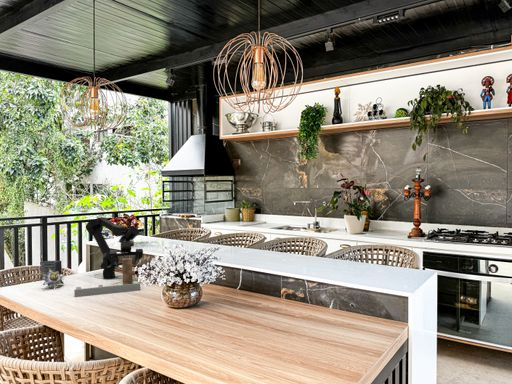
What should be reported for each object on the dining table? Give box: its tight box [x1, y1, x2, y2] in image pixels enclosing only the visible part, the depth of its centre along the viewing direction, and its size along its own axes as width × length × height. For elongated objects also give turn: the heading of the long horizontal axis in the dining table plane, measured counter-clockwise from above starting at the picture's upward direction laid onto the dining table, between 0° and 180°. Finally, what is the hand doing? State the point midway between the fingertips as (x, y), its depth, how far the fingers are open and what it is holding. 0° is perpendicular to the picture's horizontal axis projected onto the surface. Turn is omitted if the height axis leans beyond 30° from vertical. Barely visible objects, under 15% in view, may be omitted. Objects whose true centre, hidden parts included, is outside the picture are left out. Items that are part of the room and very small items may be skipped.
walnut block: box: [121, 257, 134, 285], centre depth 214 cm, size 5×5×14 cm
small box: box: [39, 260, 63, 280], centre depth 245 cm, size 11×6×10 cm, turn 84°
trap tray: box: [73, 280, 141, 298], centre depth 210 cm, size 32×13×4 cm, turn 110°
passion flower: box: [40, 270, 65, 289], centre depth 220 cm, size 11×11×12 cm
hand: (126, 266), depth 222 cm, fingers open, 9 cm apart
